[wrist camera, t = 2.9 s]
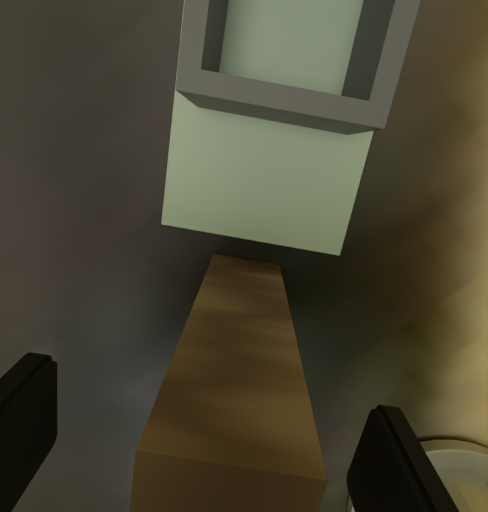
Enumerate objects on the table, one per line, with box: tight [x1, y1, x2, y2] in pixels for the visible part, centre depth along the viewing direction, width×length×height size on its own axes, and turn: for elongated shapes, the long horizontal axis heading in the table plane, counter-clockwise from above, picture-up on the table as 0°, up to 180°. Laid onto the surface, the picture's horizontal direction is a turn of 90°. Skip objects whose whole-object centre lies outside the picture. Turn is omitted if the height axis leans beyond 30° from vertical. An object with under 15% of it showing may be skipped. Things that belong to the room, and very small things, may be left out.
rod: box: [130, 253, 328, 512], centre depth 14 cm, size 4×4×14 cm
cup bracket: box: [161, 0, 421, 256], centre depth 14 cm, size 10×17×6 cm, turn 170°
